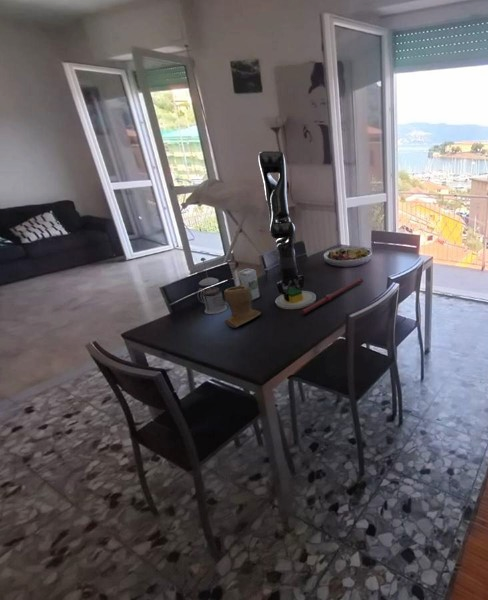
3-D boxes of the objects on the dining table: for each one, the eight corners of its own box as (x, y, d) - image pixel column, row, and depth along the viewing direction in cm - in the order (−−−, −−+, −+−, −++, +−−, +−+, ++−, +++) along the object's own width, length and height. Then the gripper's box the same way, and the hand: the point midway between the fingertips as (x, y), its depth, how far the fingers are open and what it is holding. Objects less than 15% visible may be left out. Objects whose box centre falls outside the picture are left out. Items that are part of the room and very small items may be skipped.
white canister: (252, 295, 179) (246, 267, 173) (260, 296, 177) (255, 269, 171) (243, 299, 174) (237, 271, 168) (251, 301, 172) (246, 273, 166)
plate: (268, 302, 171) (267, 299, 170) (301, 289, 184) (300, 287, 183) (290, 313, 160) (290, 310, 159) (324, 299, 173) (324, 296, 172)
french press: (232, 306, 167) (220, 255, 157) (213, 317, 157) (198, 263, 147) (215, 303, 170) (202, 253, 160) (196, 314, 160) (180, 261, 150)
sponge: (283, 298, 171) (282, 290, 169) (293, 295, 175) (292, 286, 173) (293, 303, 166) (291, 294, 164) (303, 299, 170) (301, 290, 168)
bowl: (333, 253, 242) (331, 242, 239) (376, 254, 238) (375, 242, 235) (317, 267, 215) (316, 255, 212) (366, 269, 211) (365, 256, 208)
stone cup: (246, 310, 162) (239, 280, 156) (265, 315, 158) (259, 284, 151) (217, 325, 150) (209, 292, 144) (237, 331, 145) (229, 297, 139)
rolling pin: (306, 316, 156) (305, 310, 155) (300, 315, 158) (299, 308, 156) (364, 282, 192) (363, 277, 190) (359, 281, 193) (358, 276, 192)
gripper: (296, 260, 170) (301, 292, 177) (269, 267, 161) (275, 301, 168) (305, 263, 166) (310, 296, 173) (278, 271, 156) (284, 305, 163)
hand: (293, 298), depth 170 cm, fingers closed on sponge, 5 cm apart
